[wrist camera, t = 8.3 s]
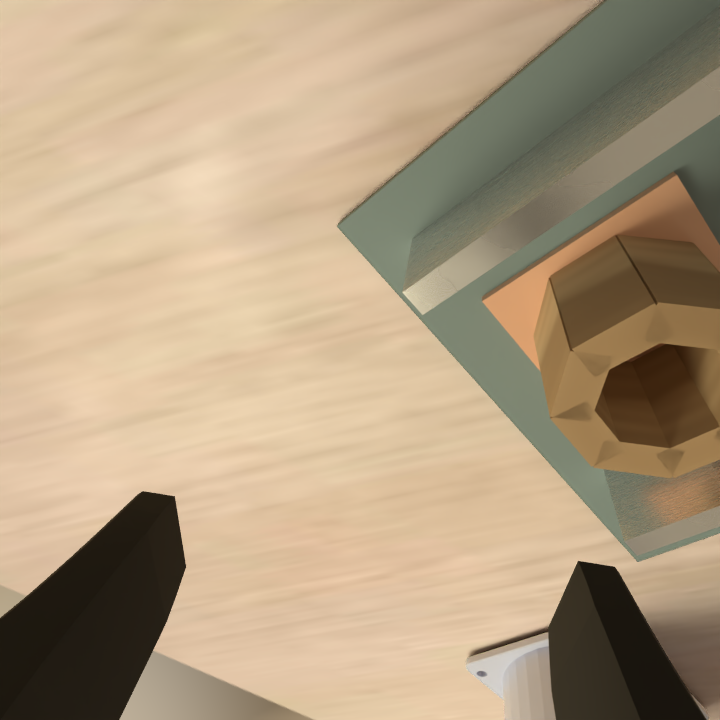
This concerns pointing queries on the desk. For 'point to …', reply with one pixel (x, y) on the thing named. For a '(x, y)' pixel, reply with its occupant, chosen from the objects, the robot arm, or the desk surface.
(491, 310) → the pad
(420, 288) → the metal walled tray
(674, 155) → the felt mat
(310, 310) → the desk surface
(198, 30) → the desk surface
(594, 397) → the oak ring
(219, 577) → the desk surface
